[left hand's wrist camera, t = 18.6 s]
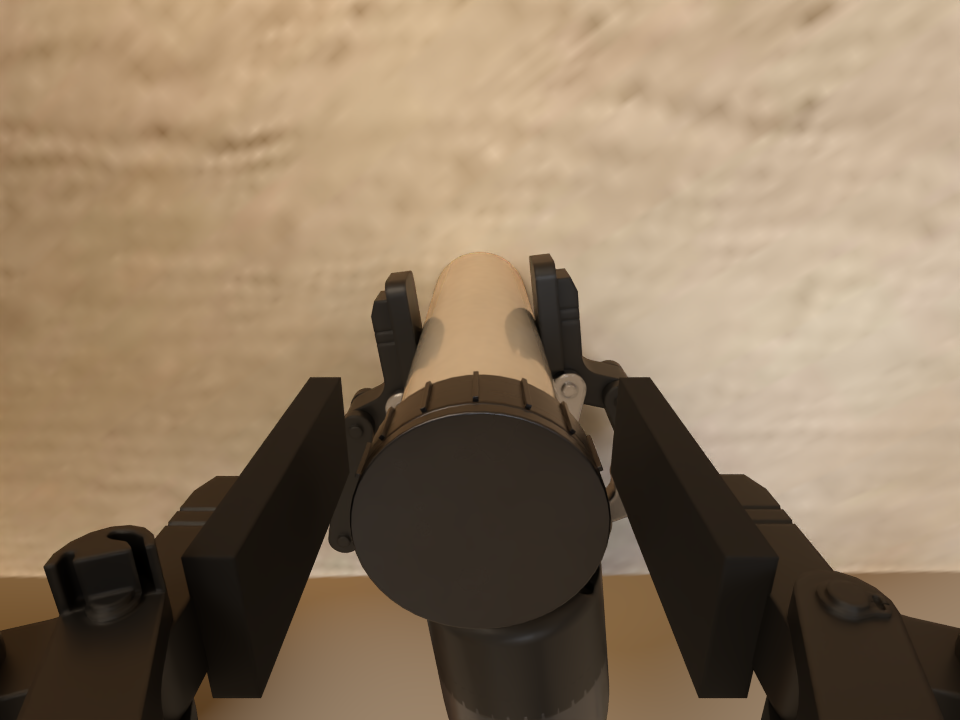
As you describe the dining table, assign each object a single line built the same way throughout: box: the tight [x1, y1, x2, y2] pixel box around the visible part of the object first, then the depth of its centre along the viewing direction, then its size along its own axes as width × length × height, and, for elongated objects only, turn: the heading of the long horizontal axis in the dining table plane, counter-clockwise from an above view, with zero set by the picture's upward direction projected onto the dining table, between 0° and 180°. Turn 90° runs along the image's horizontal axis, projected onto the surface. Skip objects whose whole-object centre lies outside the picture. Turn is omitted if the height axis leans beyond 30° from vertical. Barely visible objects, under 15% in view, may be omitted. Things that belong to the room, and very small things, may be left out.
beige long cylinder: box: [400, 252, 560, 403], centre depth 19 cm, size 4×4×16 cm
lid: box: [350, 371, 611, 629], centre depth 12 cm, size 5×5×2 cm
